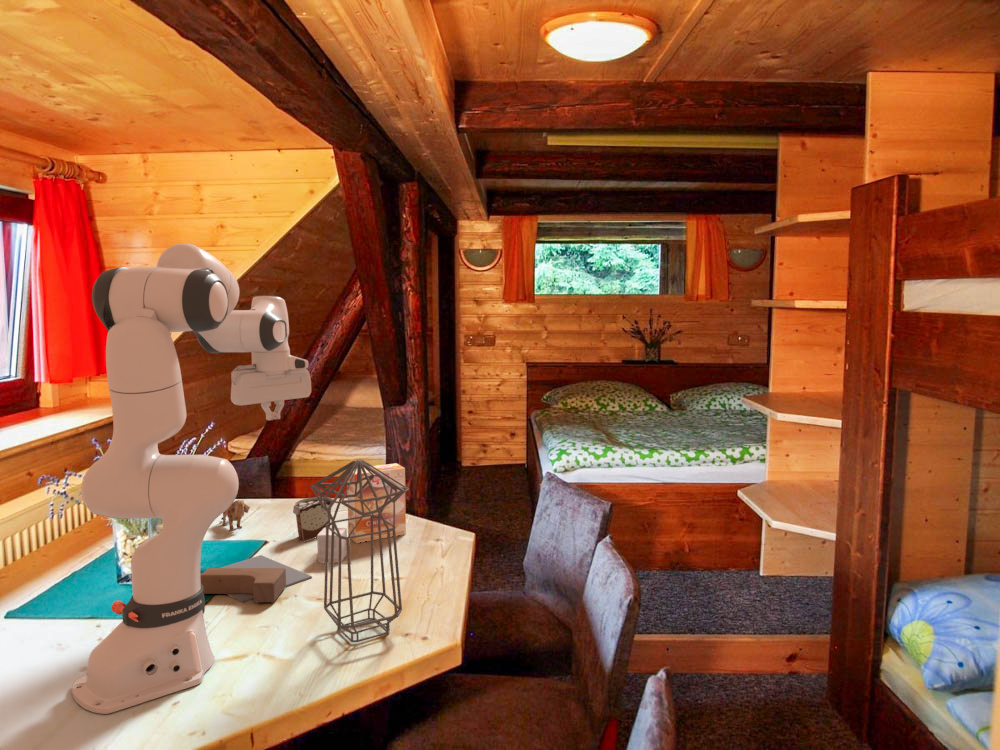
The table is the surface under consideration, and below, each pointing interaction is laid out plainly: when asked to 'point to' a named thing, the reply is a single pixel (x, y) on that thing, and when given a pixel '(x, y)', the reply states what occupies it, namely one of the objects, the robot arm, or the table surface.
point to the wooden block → (245, 582)
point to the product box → (322, 545)
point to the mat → (264, 562)
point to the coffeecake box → (400, 510)
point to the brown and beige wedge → (310, 517)
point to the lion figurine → (235, 513)
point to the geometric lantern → (348, 472)
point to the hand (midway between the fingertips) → (273, 419)
